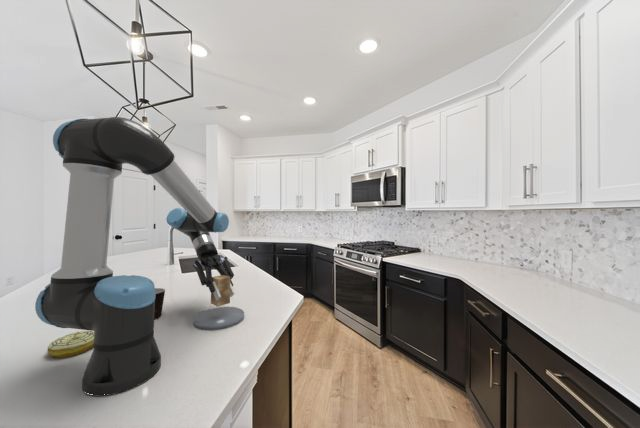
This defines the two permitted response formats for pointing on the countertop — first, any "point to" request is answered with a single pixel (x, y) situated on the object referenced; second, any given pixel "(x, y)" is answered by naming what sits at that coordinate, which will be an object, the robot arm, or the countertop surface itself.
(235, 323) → the dish
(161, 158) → the robot arm
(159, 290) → the coffee mug
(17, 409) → the countertop surface
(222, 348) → the countertop surface
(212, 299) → the oak block
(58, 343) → the decorated donut
